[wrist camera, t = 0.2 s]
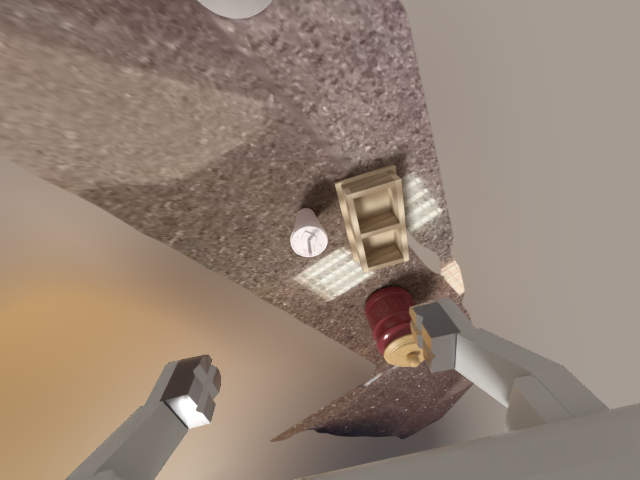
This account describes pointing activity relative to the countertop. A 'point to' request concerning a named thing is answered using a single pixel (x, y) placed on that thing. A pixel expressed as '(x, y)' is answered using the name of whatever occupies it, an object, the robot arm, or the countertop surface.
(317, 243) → the smoothie
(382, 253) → the wooden divided tray
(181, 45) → the countertop surface
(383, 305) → the canister
